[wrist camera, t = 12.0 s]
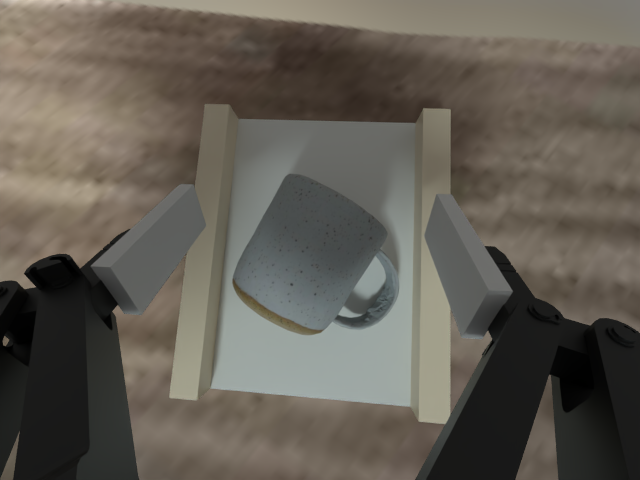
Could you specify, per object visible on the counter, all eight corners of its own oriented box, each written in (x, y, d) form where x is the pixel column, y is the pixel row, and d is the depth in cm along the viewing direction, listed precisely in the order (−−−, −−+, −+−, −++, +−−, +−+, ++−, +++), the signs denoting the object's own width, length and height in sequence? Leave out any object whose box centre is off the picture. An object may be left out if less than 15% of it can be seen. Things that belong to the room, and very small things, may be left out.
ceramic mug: (245, 281, 21) (197, 286, 14) (296, 193, 22) (278, 151, 14) (363, 351, 20) (381, 398, 13) (413, 256, 21) (459, 248, 13)
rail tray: (193, 379, 22) (169, 397, 19) (221, 125, 25) (204, 103, 21) (432, 401, 21) (450, 424, 18) (435, 131, 23) (450, 108, 20)
